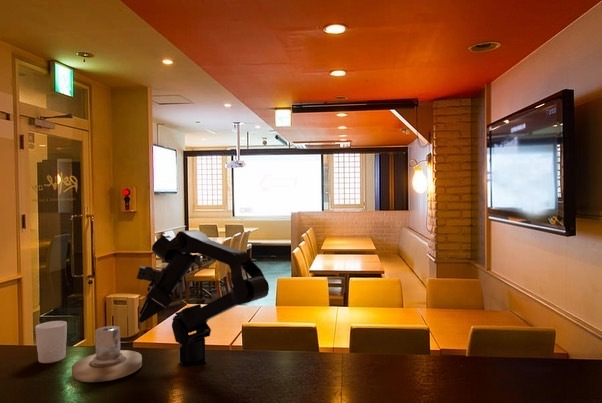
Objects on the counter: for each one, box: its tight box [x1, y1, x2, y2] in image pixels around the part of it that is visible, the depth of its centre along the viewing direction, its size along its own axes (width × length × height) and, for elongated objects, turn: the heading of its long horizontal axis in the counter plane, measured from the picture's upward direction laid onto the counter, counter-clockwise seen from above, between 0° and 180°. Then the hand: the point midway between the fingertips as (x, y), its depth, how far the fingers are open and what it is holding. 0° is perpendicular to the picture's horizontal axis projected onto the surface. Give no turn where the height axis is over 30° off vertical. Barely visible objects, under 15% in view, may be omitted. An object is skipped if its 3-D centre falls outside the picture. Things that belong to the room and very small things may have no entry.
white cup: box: [34, 320, 68, 364], centre depth 125 cm, size 8×8×10 cm
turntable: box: [71, 349, 143, 383], centre depth 116 cm, size 17×17×2 cm
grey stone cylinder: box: [93, 325, 123, 366], centre depth 116 cm, size 7×7×9 cm
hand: (140, 317), depth 119 cm, fingers open, 9 cm apart
